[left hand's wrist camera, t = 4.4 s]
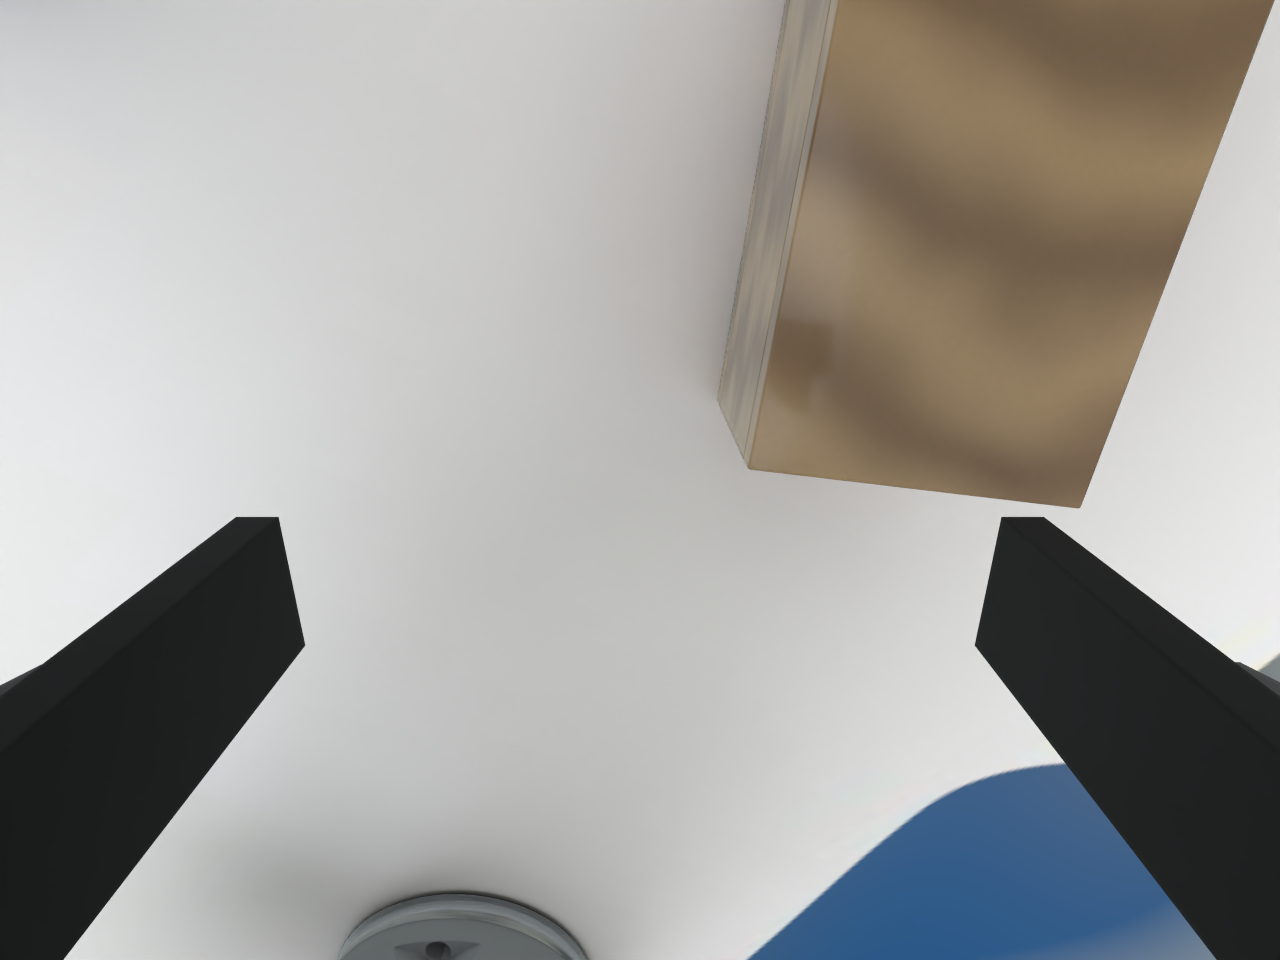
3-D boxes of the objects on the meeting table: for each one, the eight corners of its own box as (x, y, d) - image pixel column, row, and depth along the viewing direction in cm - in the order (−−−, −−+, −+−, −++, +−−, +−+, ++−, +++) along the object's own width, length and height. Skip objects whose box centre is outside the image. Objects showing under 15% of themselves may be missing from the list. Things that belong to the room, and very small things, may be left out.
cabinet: (796, -65, 23) (879, -211, 15) (1097, -17, 24) (1328, -135, 16) (716, 401, 29) (747, 470, 21) (961, 431, 29) (1080, 509, 21)
